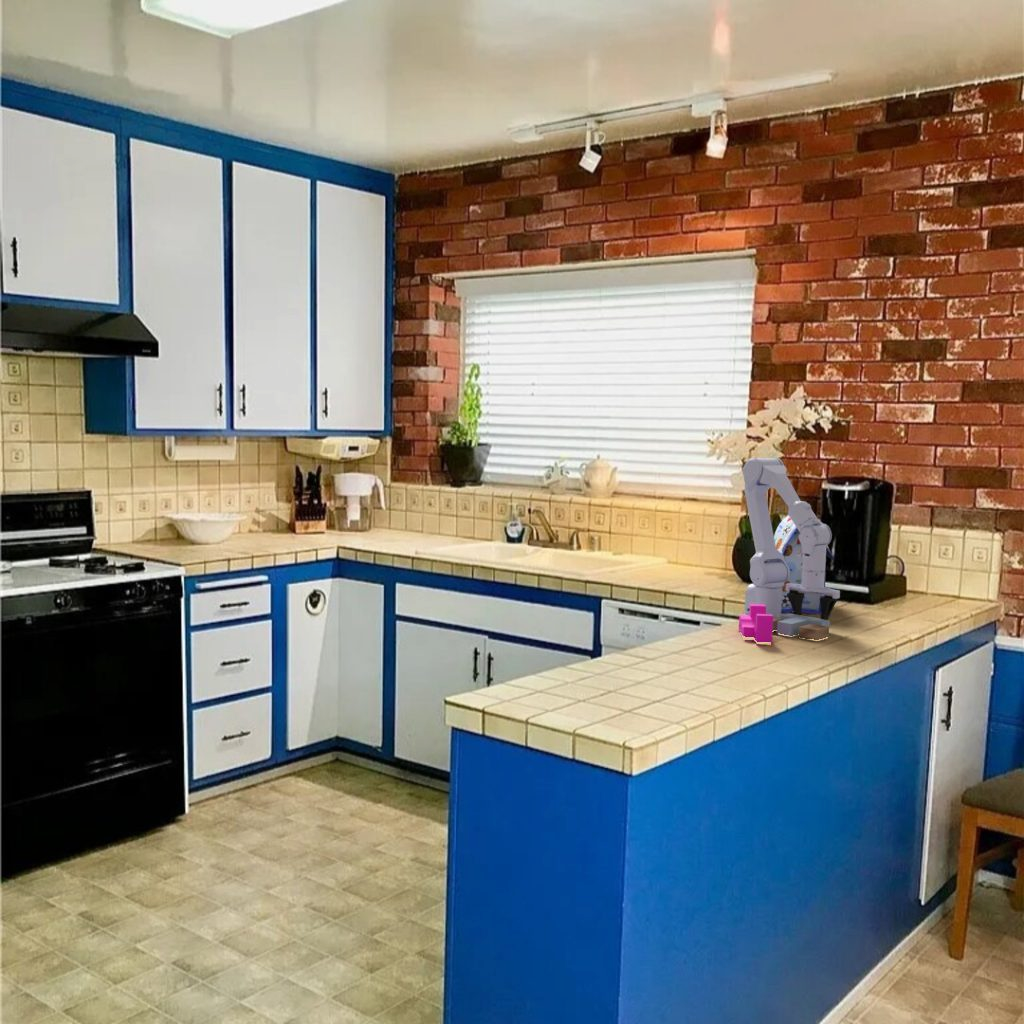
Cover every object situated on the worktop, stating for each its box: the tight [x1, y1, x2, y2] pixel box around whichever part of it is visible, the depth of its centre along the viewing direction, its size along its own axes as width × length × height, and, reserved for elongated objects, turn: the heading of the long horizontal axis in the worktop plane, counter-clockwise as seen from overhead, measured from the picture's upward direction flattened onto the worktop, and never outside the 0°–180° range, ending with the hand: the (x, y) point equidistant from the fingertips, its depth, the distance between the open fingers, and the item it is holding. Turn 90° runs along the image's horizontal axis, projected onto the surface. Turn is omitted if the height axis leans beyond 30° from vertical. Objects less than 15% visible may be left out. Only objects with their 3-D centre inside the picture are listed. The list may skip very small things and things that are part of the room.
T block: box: [776, 612, 831, 636], centre depth 266 cm, size 12×12×4 cm
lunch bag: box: [773, 514, 835, 615], centre depth 302 cm, size 23×17×27 cm
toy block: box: [738, 604, 773, 643], centre depth 259 cm, size 15×6×8 cm, turn 174°
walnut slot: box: [772, 617, 830, 640], centre depth 265 cm, size 18×6×3 cm, turn 45°
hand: (810, 621), depth 272 cm, fingers open, 7 cm apart
